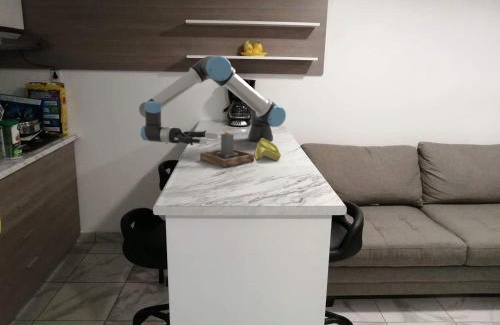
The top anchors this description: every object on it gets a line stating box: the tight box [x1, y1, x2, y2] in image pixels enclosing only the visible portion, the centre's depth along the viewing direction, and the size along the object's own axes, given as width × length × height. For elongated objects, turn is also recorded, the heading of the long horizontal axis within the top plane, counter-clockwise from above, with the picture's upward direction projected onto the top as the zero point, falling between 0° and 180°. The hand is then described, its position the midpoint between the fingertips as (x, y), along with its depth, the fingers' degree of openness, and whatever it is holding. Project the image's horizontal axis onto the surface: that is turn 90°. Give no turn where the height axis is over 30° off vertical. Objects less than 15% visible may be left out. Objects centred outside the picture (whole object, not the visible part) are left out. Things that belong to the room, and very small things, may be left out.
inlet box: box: [199, 148, 255, 169], centre depth 184 cm, size 18×18×4 cm
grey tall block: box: [220, 131, 234, 155], centre depth 182 cm, size 4×4×13 cm
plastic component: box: [254, 138, 282, 162], centre depth 194 cm, size 20×7×10 cm
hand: (212, 138), depth 183 cm, fingers open, 13 cm apart
